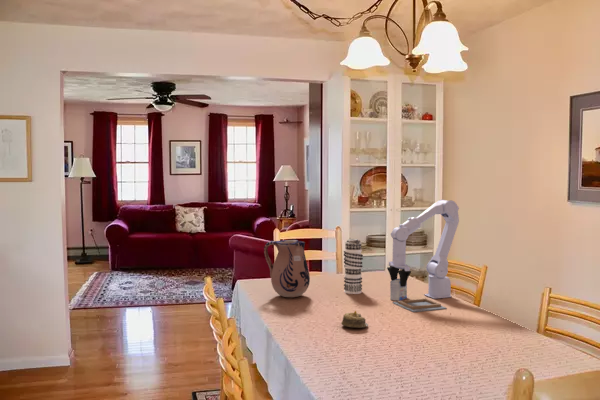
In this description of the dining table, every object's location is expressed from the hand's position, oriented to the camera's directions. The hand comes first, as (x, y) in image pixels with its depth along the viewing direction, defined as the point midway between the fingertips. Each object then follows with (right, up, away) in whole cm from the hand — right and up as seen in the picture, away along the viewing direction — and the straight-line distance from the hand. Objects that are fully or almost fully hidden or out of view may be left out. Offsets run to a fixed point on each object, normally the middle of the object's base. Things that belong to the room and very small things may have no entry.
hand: (398, 284), depth 231 cm
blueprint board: (+6, -7, -12) cm, 16 cm away
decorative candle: (-19, -6, +14) cm, 24 cm away
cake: (-24, -9, -41) cm, 48 cm away
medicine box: (0, -7, 0) cm, 7 cm away
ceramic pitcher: (-50, -6, +6) cm, 51 cm away
